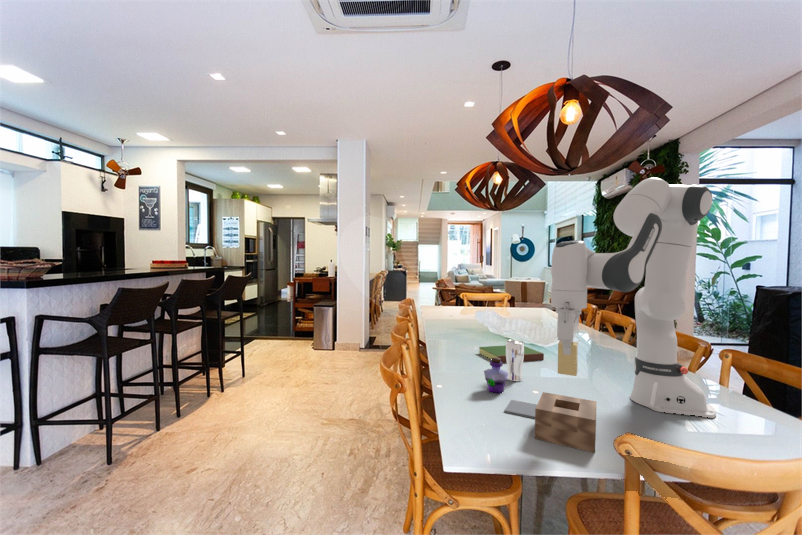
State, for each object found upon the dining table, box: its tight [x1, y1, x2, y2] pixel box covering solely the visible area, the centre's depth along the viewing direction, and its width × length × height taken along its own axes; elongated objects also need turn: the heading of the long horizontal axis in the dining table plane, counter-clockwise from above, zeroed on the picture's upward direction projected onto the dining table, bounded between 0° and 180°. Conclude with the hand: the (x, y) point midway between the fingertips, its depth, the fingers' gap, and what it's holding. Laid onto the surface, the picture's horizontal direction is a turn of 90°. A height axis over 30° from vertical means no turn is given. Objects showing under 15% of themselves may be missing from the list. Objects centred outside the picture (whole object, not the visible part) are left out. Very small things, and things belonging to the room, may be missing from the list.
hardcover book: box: [478, 345, 545, 364], centre depth 179 cm, size 25×19×4 cm
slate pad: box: [503, 399, 538, 420], centre depth 115 cm, size 10×10×1 cm
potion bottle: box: [483, 358, 508, 394], centre depth 131 cm, size 9×9×12 cm
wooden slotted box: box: [534, 391, 598, 453], centre depth 99 cm, size 14×14×8 cm
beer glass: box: [505, 339, 525, 382], centre depth 144 cm, size 7×7×15 cm
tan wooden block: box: [557, 340, 579, 377], centre depth 99 cm, size 4×4×8 cm
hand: (567, 351), depth 99 cm, fingers closed on tan wooden block, 4 cm apart
